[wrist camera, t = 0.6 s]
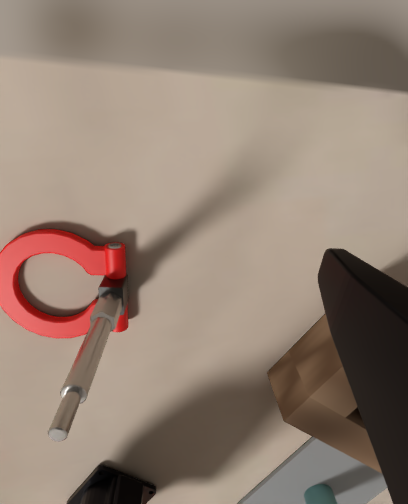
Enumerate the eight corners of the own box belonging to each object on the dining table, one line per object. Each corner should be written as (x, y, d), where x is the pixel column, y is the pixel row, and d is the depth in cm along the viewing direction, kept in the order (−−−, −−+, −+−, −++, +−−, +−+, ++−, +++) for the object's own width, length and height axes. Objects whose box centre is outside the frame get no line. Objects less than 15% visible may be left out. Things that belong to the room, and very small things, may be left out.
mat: (317, 536, 41) (318, 540, 40) (237, 503, 37) (237, 507, 37) (395, 476, 37) (397, 479, 37) (316, 433, 34) (317, 437, 33)
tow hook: (9, 328, 27) (131, 331, 28) (-132, 504, 15) (86, 503, 16) (-11, 224, 24) (127, 229, 24) (-211, 344, 12) (67, 349, 12)
